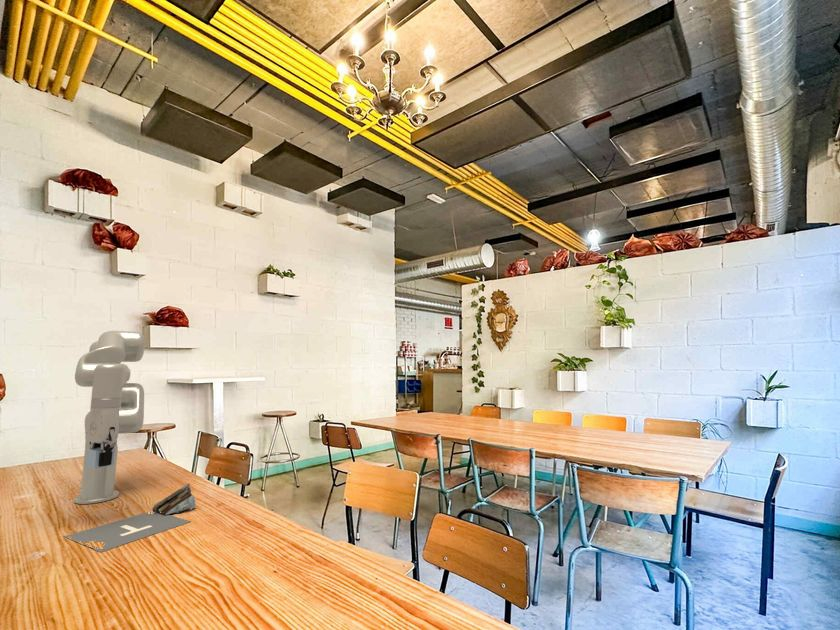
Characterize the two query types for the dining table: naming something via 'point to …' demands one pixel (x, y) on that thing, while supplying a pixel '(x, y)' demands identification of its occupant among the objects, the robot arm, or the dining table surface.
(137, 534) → the letter mat
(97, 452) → the cube
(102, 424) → the robot arm
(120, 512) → the dining table surface
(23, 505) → the dining table surface
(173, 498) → the chocolate cake
